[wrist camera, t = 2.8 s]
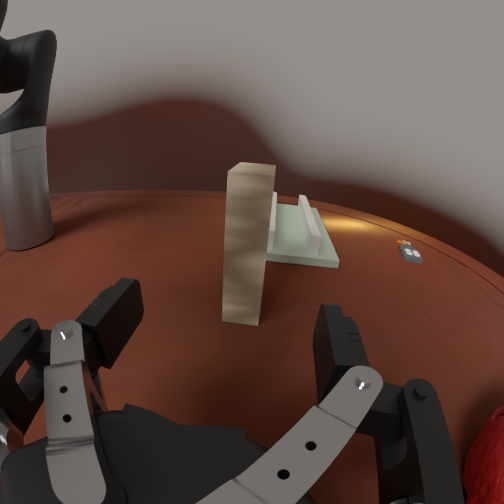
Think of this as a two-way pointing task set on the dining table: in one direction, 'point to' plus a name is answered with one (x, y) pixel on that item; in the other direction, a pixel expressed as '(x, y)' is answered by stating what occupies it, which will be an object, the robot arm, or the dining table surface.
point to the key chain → (409, 252)
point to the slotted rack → (299, 236)
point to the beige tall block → (246, 240)
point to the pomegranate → (486, 463)
